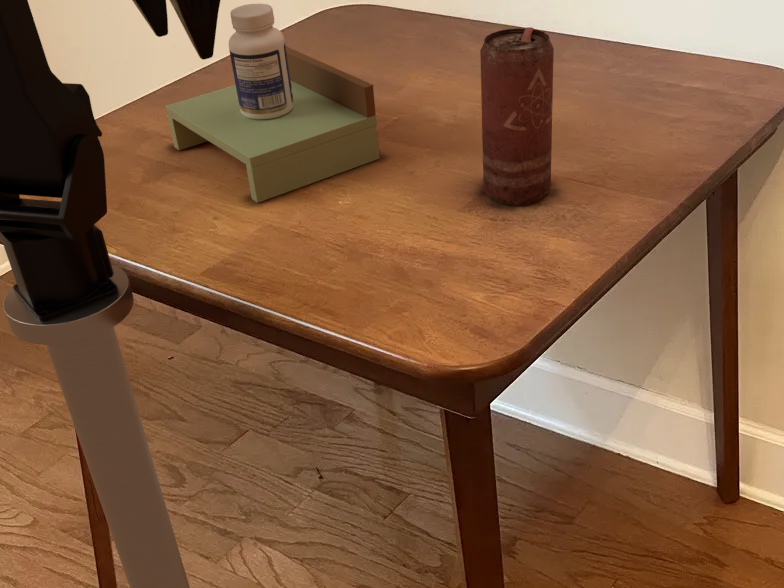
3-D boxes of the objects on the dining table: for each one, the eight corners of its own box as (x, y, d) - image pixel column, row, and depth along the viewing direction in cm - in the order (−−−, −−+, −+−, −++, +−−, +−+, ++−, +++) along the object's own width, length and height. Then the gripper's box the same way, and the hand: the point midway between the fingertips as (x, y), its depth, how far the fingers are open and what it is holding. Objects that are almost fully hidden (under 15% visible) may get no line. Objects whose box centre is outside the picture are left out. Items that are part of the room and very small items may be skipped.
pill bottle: (256, 98, 105) (240, -1, 99) (303, 102, 103) (289, 1, 97) (230, 118, 101) (212, 17, 95) (279, 123, 99) (263, 19, 93)
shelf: (257, 203, 96) (244, 126, 91) (174, 147, 108) (158, 76, 103) (379, 158, 102) (373, 84, 97) (288, 110, 114) (278, 42, 109)
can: (557, 179, 96) (561, 25, 87) (542, 209, 91) (544, 51, 82) (494, 174, 97) (491, 23, 89) (476, 204, 93) (471, 48, 84)
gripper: (288, -152, 81) (312, 47, 91) (184, -171, 93) (215, 6, 103) (159, -128, 76) (199, 80, 86) (68, -151, 89) (112, 32, 98)
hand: (183, 46), depth 93 cm, fingers open, 9 cm apart
